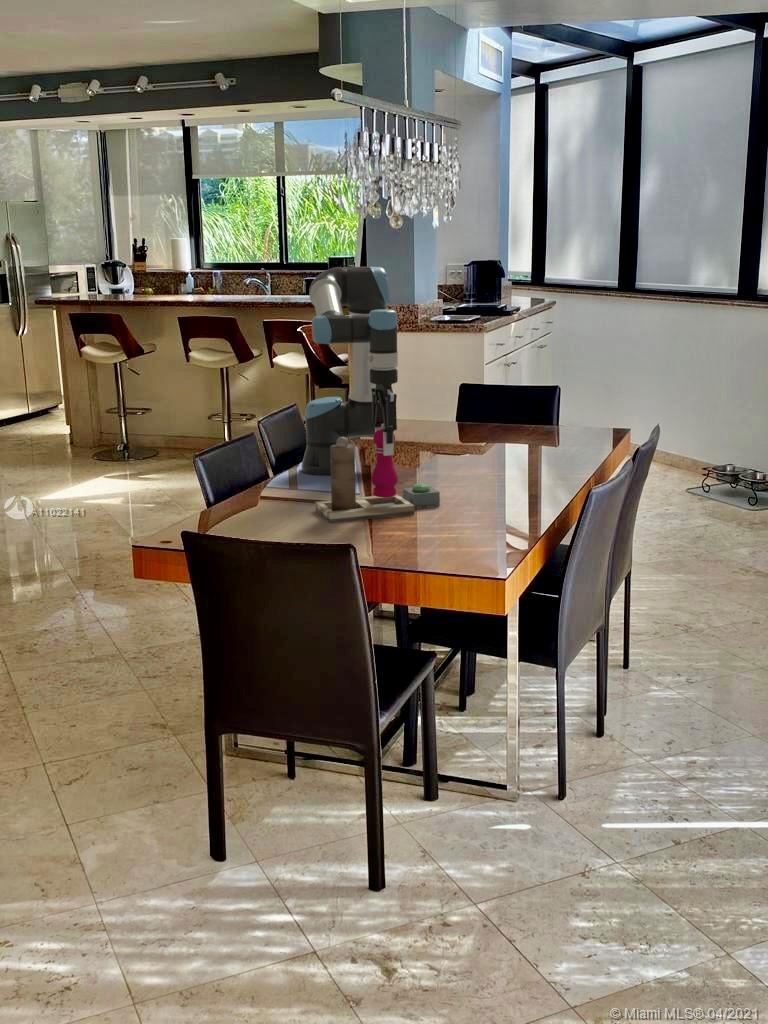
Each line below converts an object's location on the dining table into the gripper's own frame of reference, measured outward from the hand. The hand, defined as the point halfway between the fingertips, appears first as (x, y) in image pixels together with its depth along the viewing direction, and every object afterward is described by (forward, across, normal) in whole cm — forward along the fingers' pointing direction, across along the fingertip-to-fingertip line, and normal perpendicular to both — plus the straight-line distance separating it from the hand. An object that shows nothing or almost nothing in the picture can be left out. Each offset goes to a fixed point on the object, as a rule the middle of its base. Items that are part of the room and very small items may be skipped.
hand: (384, 452), depth 291 cm
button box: (+16, -3, +12) cm, 21 cm away
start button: (+15, -3, +12) cm, 20 cm away
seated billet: (+16, 0, -12) cm, 20 cm away
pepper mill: (+12, 0, 0) cm, 12 cm away
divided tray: (+16, 0, -6) cm, 17 cm away
